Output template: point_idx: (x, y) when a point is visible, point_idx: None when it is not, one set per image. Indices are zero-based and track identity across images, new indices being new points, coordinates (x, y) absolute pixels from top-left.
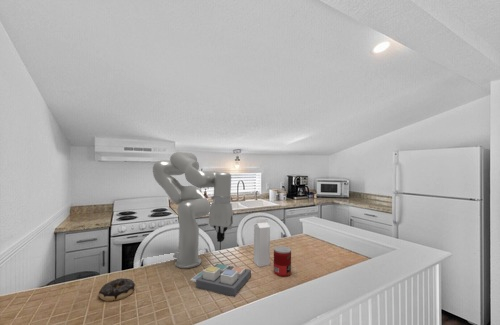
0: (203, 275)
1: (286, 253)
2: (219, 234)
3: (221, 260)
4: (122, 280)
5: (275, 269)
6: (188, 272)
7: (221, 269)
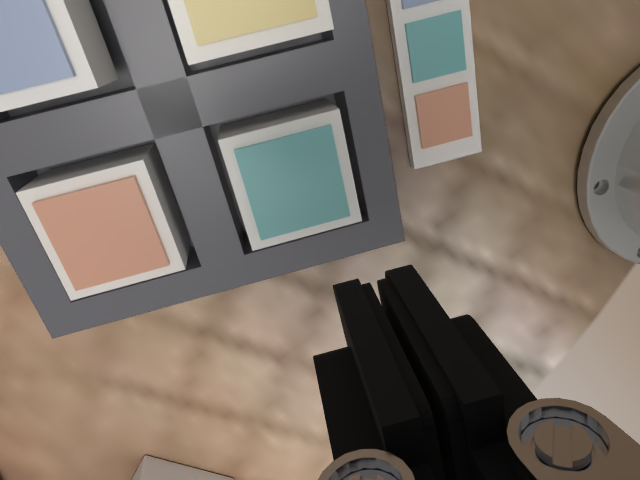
0: None
1: None
2: (414, 385)
3: None
4: None
5: None
6: (576, 28)
7: (249, 142)
